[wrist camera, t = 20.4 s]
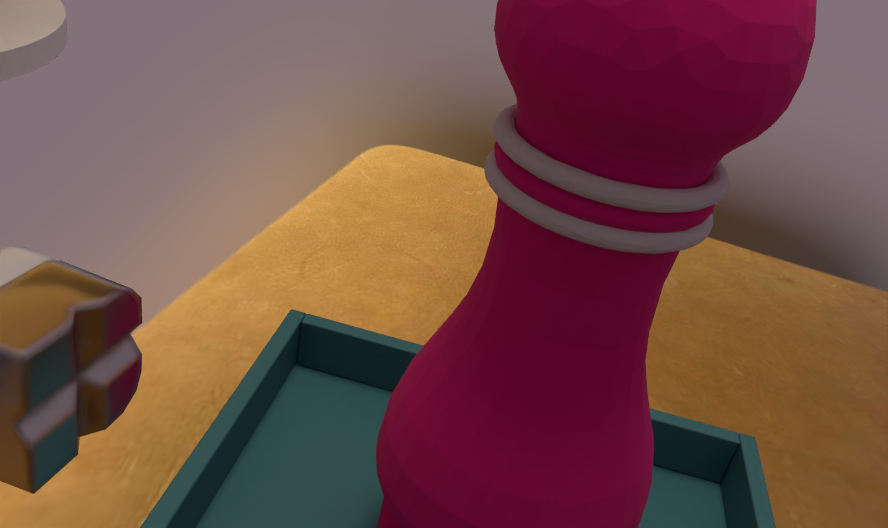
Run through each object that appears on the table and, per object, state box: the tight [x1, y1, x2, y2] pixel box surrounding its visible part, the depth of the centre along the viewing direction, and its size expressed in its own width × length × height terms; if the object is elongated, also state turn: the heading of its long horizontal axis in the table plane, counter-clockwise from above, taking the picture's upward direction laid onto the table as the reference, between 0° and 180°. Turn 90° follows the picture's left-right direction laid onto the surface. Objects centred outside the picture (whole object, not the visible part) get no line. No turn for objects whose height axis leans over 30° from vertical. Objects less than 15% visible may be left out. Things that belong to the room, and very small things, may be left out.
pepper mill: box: [376, 0, 816, 528], centre depth 19 cm, size 7×7×20 cm
